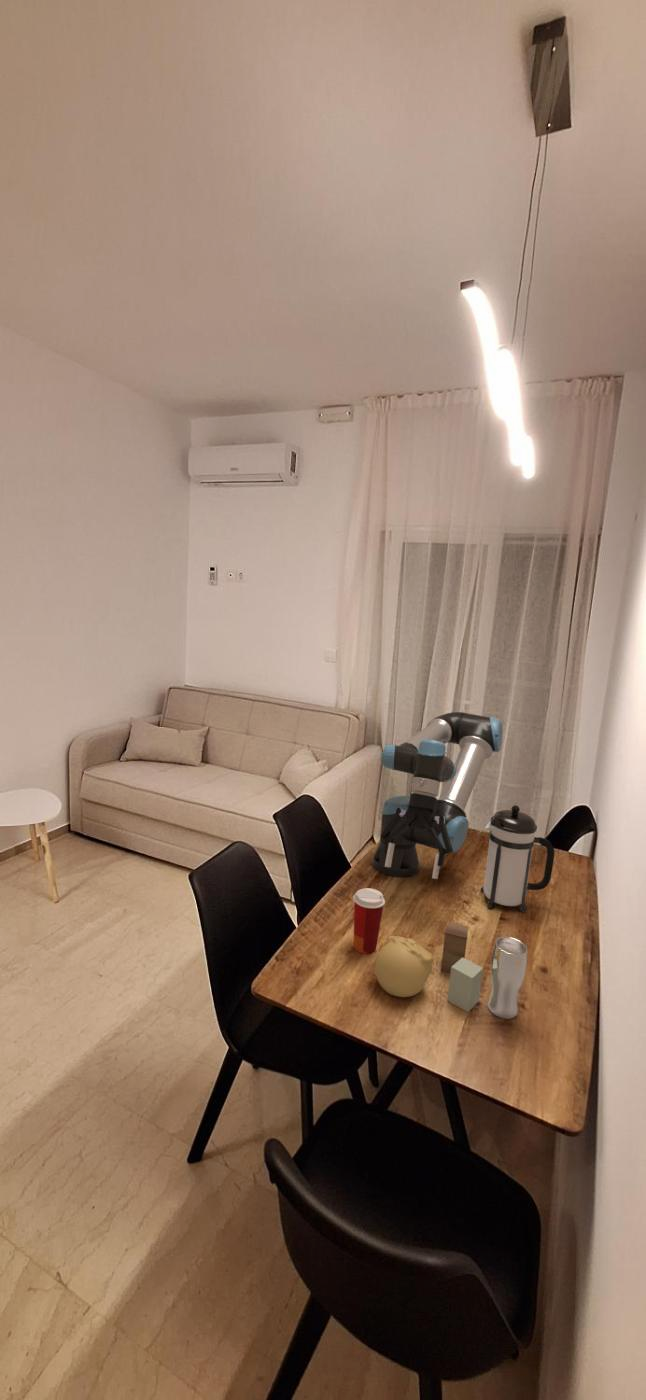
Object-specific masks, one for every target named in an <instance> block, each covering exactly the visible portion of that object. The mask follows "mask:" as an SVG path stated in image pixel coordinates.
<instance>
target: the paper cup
mask: <svg viewBox="0 0 646 1400" xmlns="http://www.w3.org/2000/svg"><path fill="white" fill-rule="evenodd" d="M352 900H353V901H354V909H353V910H354V911H353V912H354V913H353V915H354V919H353V948H354V950H355V951H356V952H358V953H360V954H363V955H365V954H366V955H368V954H369V955H370V954H372V953H375V952H376V950H377V945H378V939H379V933H380V927H381V922H382V915H383V910H384V905H385V903H386V900H385V898H384V895H383V893H382V892H381V891H379V890H377V889H375V888H370V887H369V888H368V887H367V888H361V889H358V890H357V891H356V892H355V894H354V895H353V897H352Z"/></svg>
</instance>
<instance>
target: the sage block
mask: <svg viewBox="0 0 646 1400" xmlns="http://www.w3.org/2000/svg"><path fill="white" fill-rule="evenodd" d="M483 973H484V968H483V966H480V965H478V964H477V963H475V962H473V961H470V960H469V959H466V958H463V957H462V958H461V959H460V960H459V961H458V962H456V963H455V964H454V965H453V966H452V967H451V973H450V974H449V981H448V991H447V1000H446V1001H448V1002H450V1003H452V1004H453V1005H455V1006H457V1007H458V1008H460V1009H461V1010H463V1011H465V1012H467V1013H469V1012H470V1011H471V1010H472V1009H473V1008H474V1007H475V1005H477V1004H478V1003H479V1001H480V998H481V997H480V995H481V990H482V989H481V986H482V983H483V982H482V980H483Z"/></svg>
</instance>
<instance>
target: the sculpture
mask: <svg viewBox="0 0 646 1400" xmlns="http://www.w3.org/2000/svg"><path fill="white" fill-rule="evenodd" d="M434 960H435V959H434V956H433V954H431V953H430V952H429V951H427V949H425V948H423V946H421V945H420V944H418V942H417V941H416V940H414V939H412V937H411V938H409V937H408V938H405V937H403V936H396V935H389V936H388V939H387V943H386V944H385V945H384V946H383V947H382V948H381V949H380V951H379V952H378V954H377V956H376V960H375V965H374V967H375V969H374V970H375V976H376V978H377V982H378V983H379V985H380V986H381V988H382V990H384V991H385V992H387V994H389V995H391V996H394V997H399V998H407V997H408V998H409V997H413V996H415V995H417V994H418V993H420V992H421V991H422V989H423V987H424V986H425V985H426V983H427V981H428V979H429V977H430V975H431V974H432V970H433V963H434Z"/></svg>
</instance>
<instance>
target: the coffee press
mask: <svg viewBox="0 0 646 1400" xmlns="http://www.w3.org/2000/svg"><path fill="white" fill-rule="evenodd" d="M537 829H538V826H537V824H536V821H535V820H534V819H533V818H532V817H531V816H530V815H529V814H527V813H524V812H522V811H520V807H519V805H513V806H512V807H511V808H510V809H501V810H499V811H497V812H495V813H494V814H493V816H492V817H491V818H490V821H489V822H488V823H487V824H486V826H485V830H488V831H489V835H488V836H489V842H488V851H487V858H486V866H485V872H484V873H485V874H484V881H483V886H481V888H480V892H481V893H483V894H484V895H485V896H486V898H487V899H489V900H488V903H487V905H486V907H487V908H488V909H490V910H494V908H495V906H496V905H497V904H498V905H501V906H506V907H517V908H518V909H519V911H520V912H521V913H523V914H524V913H526V912H527V911H528V907H527V904H526V901H525V900H526V896H527V893H528V891H540V890H543V889H545V888H546V887H547V886H548V885H549V884H550V882H551V878H552V873H553V866H554V860H555V849H554V846H553V844H552V843H551V842H550V840H548V839H547V838H544V837H540V836H537V837H535V834H536V832H537ZM535 844H539V845H543V846H545V848H546V851H547V852H546V860H545V868H544V873H543V878H542V879H541V880H540V881H539V882H537V883H535V882H534V883H533V882H529V876H530V869H531V864H532V863H531V861H532V854H533V847H534V845H535Z"/></svg>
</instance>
